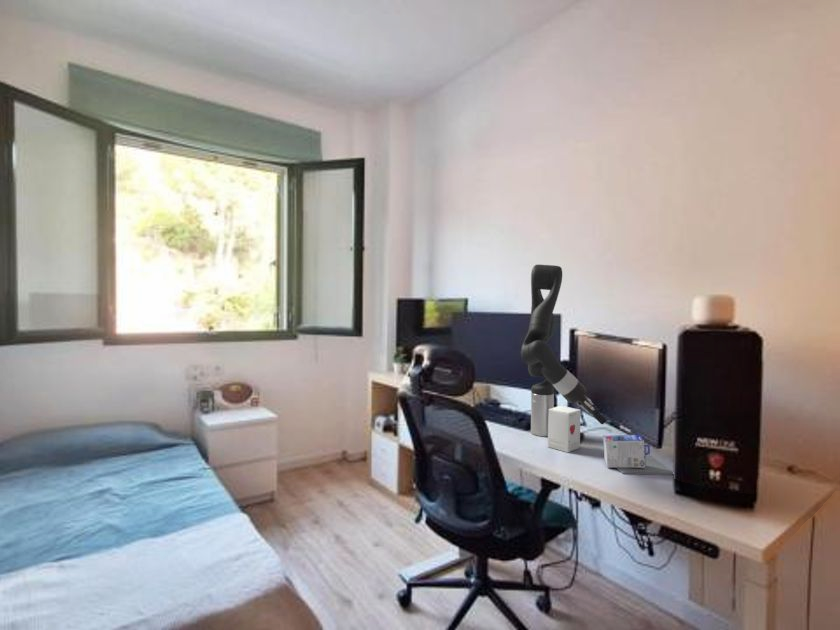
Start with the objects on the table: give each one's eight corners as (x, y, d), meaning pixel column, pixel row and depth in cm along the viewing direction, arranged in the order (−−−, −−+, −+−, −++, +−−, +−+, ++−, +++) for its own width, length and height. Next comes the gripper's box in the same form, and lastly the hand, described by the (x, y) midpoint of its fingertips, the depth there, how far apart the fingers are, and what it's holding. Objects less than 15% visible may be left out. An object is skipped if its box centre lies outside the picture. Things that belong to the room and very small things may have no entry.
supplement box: (568, 453, 169) (568, 413, 168) (547, 447, 175) (547, 408, 175) (580, 447, 175) (581, 409, 174) (559, 442, 181) (560, 405, 181)
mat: (603, 456, 165) (604, 455, 165) (651, 457, 164) (651, 455, 164) (622, 474, 149) (622, 472, 149) (675, 474, 149) (675, 472, 148)
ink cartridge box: (604, 460, 159) (649, 461, 155) (606, 468, 154) (653, 469, 150) (602, 433, 157) (648, 433, 154) (605, 441, 152) (652, 441, 148)
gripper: (583, 382, 149) (619, 419, 150) (570, 375, 163) (604, 409, 163) (566, 398, 150) (603, 435, 150) (555, 390, 163) (589, 424, 163)
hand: (603, 422), depth 156 cm, fingers closed
